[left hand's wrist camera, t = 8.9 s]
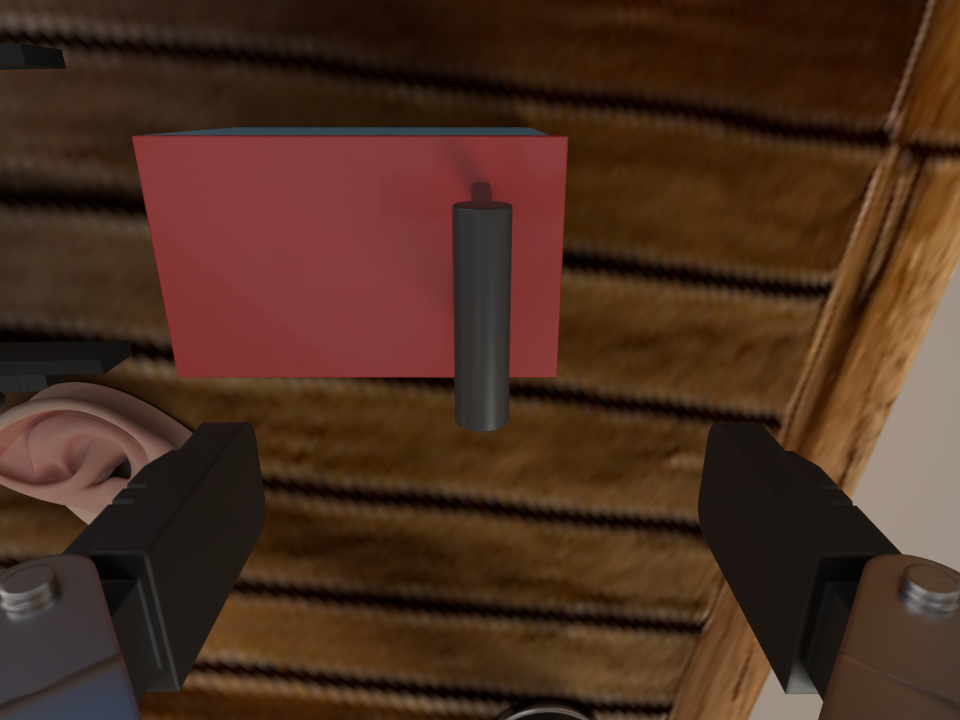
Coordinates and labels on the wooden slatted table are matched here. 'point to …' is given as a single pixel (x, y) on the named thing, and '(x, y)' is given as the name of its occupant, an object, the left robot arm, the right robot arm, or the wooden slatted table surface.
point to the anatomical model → (82, 444)
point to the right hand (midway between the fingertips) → (84, 219)
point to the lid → (361, 257)
